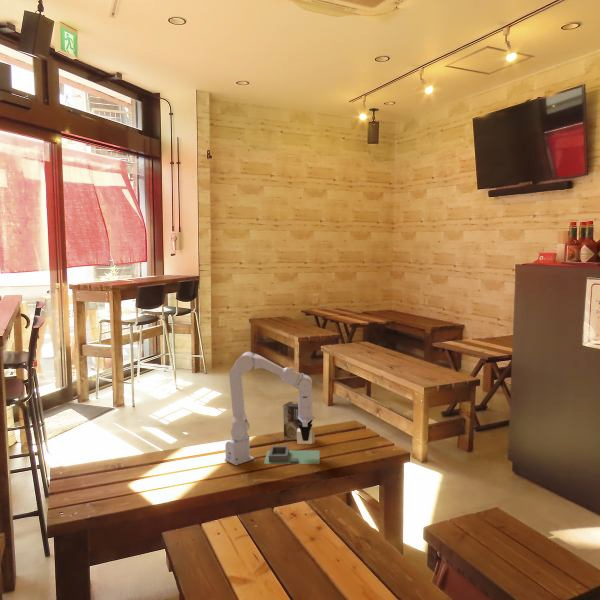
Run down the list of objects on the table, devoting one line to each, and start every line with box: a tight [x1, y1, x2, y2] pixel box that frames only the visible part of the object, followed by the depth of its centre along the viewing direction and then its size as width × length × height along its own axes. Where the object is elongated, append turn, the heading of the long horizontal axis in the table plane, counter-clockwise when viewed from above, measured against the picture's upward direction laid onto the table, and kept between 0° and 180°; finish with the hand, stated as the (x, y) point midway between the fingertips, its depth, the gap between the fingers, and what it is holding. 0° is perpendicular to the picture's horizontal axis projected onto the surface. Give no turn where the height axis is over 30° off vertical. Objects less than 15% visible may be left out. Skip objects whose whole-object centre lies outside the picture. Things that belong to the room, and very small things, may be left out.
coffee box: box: [282, 401, 300, 441], centre depth 226 cm, size 9×6×16 cm
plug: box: [296, 427, 316, 445], centre depth 201 cm, size 7×4×5 cm, turn 88°
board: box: [263, 445, 320, 465], centre depth 202 cm, size 22×14×4 cm, turn 88°
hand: (305, 438), depth 201 cm, fingers closed on plug, 4 cm apart
